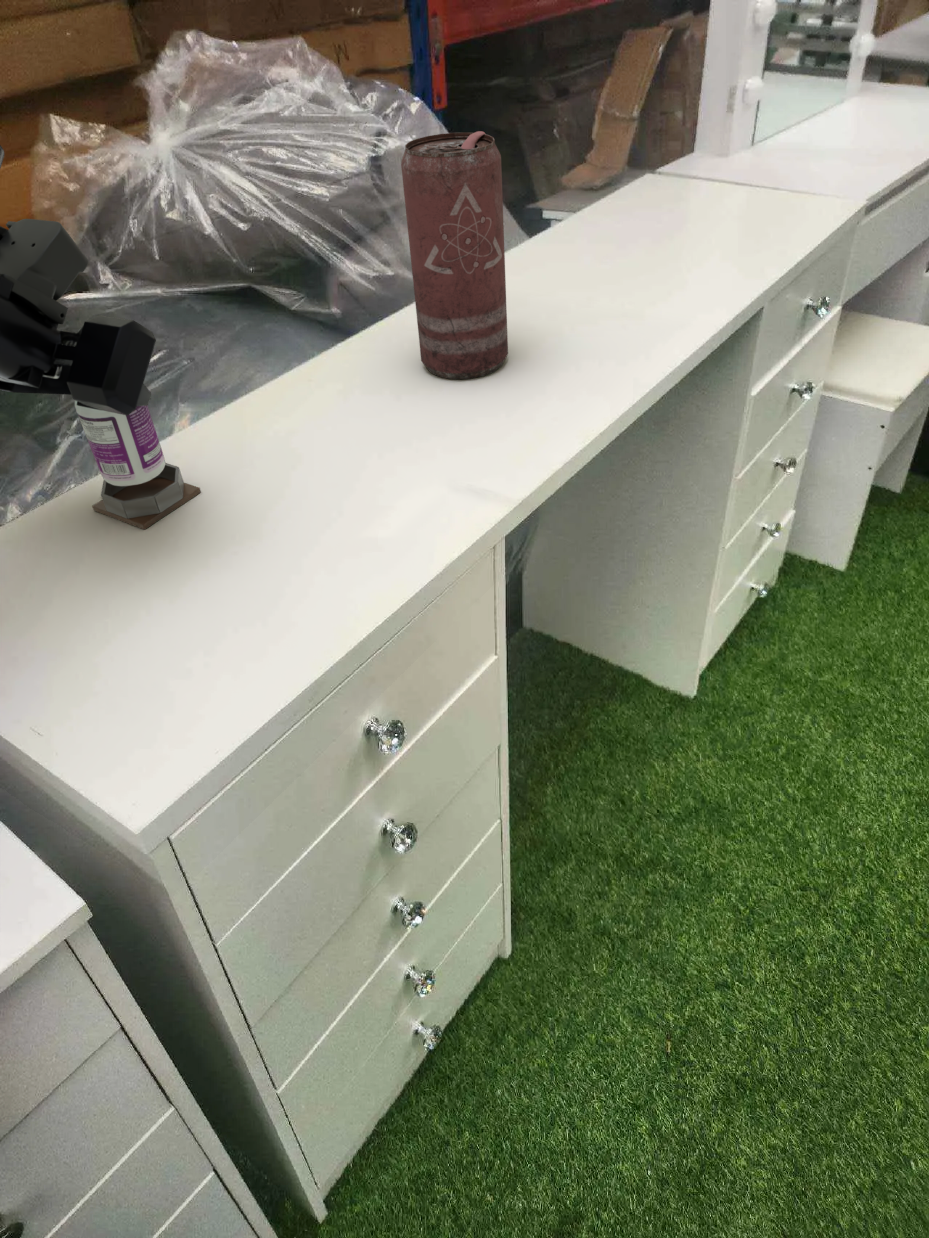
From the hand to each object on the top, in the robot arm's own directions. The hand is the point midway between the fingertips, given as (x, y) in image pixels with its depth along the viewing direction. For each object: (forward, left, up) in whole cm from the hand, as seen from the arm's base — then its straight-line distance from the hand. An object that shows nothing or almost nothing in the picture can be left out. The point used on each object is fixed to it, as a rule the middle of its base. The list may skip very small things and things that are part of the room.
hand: (122, 394), depth 71 cm
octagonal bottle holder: (-1, -1, -10) cm, 10 cm away
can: (+34, +14, -10) cm, 38 cm away
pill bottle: (-1, -1, -7) cm, 7 cm away
